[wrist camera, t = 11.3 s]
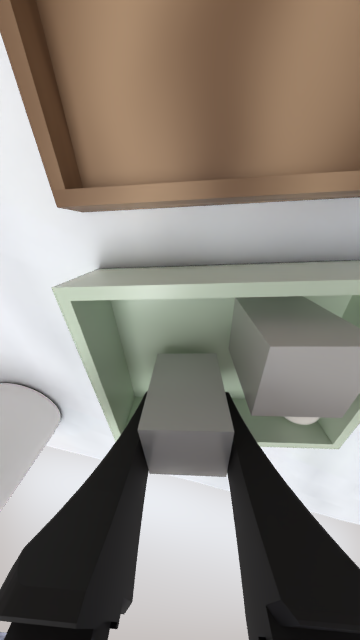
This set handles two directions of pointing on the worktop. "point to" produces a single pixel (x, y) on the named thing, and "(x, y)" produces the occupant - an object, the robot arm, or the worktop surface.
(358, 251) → the worktop surface
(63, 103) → the walnut tray
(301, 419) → the white ball
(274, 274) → the green bin
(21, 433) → the pill bottle
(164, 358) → the stone
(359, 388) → the grey rectangular block
